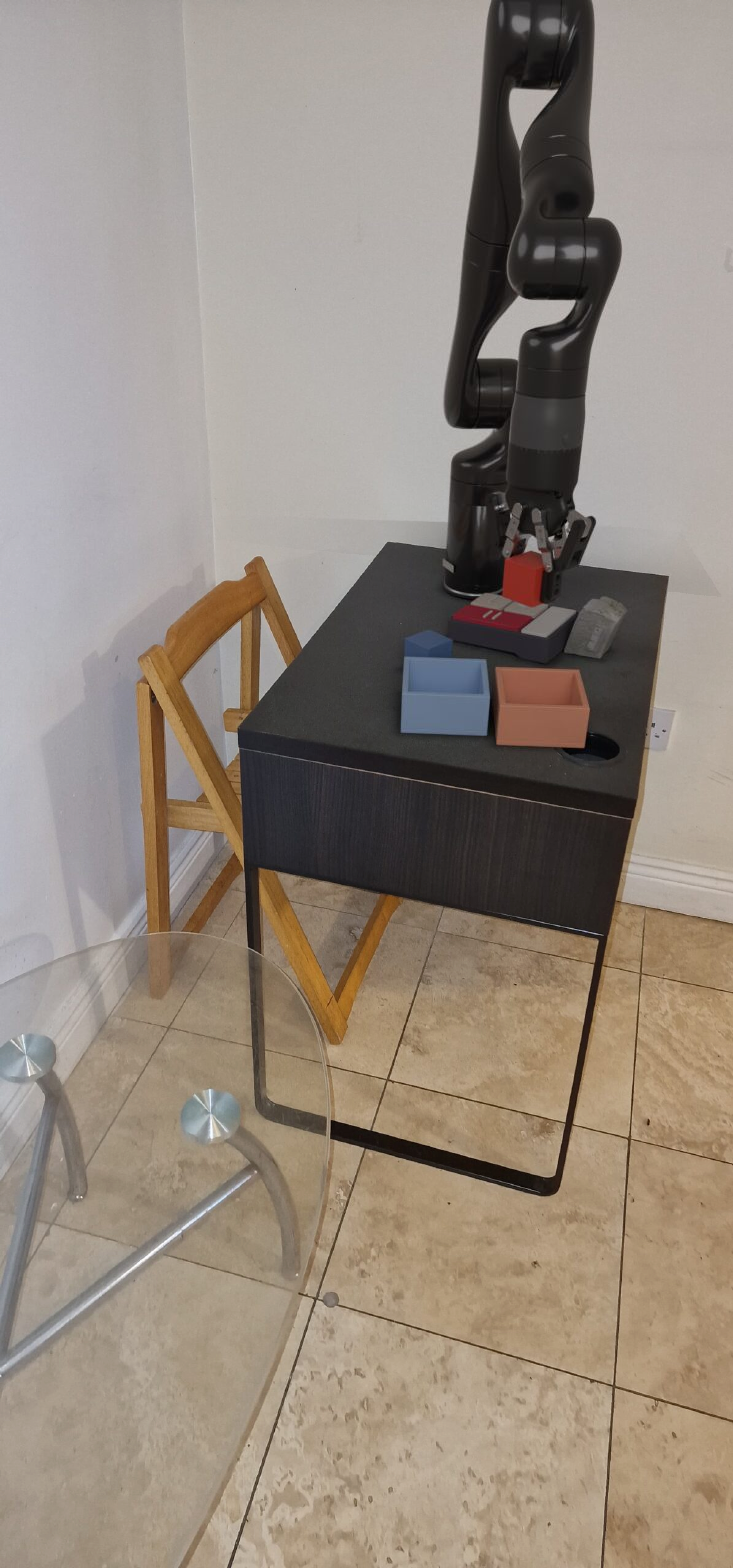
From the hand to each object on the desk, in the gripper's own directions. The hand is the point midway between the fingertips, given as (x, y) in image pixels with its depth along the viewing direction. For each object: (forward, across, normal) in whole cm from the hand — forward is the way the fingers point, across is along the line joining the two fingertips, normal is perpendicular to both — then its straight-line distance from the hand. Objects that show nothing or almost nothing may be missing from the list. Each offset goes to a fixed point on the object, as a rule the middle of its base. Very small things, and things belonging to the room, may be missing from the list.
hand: (530, 594), depth 114 cm
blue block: (+15, +16, -1) cm, 22 cm away
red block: (0, 0, 0) cm, 0 cm away
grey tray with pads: (+16, +16, -17) cm, 28 cm away
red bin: (+16, -3, 0) cm, 16 cm away
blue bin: (+15, +6, +6) cm, 18 cm away
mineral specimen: (+16, +6, -21) cm, 27 cm away
